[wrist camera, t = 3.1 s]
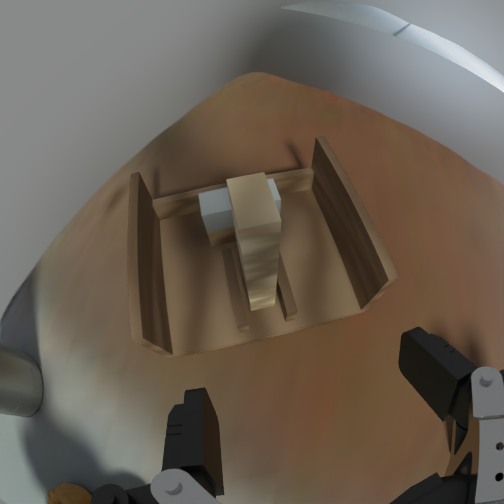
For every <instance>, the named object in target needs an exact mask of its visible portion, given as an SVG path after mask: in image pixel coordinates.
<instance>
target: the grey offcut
mask: <svg viewBox="0 0 504 504" xmlns="http://www.w3.org/2000/svg"><path fill="white" fill-rule="evenodd" d="M267 181H268V184H269V187H270V189H271V192H272V195H273V198H274V201H275V203H276V206H277V209H278V212H279V215H280V208H281V198H280V196H279V193H278V190H277V188H276V185H275V182H274V180H273V179H267ZM198 195H199V201H200V208H201V215H202V218H203V222H204V225H205V228H206V231H207V232H212V231H216V230H221V229H225V228H230V227H234V222H233V216H232V211H231V205H230V199H229V193H228V187H226V188H222V189H217V190H212V191H208V192H203V193H199V194H198Z"/></svg>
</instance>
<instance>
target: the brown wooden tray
mask: <svg viewBox="0 0 504 504" xmlns="http://www.w3.org/2000/svg"><path fill="white" fill-rule="evenodd" d="M266 178H267V179H273V180H274V182H275V185H276V188H277V190H278V193H279V196H280V198H281V208H280V218H281V235H280V248H279V261H278V273H277V285H276V297H275V305H274V306H270V307H265V308H261V309H257V310H252V311H251V309H250V304H249V300H248V296H247V292H246V287H245V283H244V279H243V274H242V268H241V263H240V257H239V251H238V246H237V241H235V242H230V243H226V244H221V245H217V246H211V243H210V240H209V237H208V234H207V231H206V228H205V225H204V222H203V218H202V215H201V208H200V201H199V195H198V194H199V193H203V192H208V191H212V190H217V189H222V188H226V187H227V183H223V184H218V185H213V186H209V187H204V188H200V189H195V190H191V191H187V192H183V193H178V194H174V195H170V196H166V197H162V198H158V199H154V200H152V198H151V196H150V194H149V192H148V190H147V187H146V185H145V183H144V181H143V179H142V177H141V175H140V173H139V172H137V173H133V174H131V179H130V192H129V210H128V296H129V314H130V327H131V339H132V340H133V341H135V342H137V343H139V344H141V345H143V346H145V347H146V348H148V349H150V350H152V351H154V352H156V353H159V354H161V355H163V356H165V357H167V358H172V357H178V356H184V355H190V354H195V353H201V352H206V351H212V350H217V349H222V348H227V347H232V346H237V345H241V344H246V343H250V342H255V341H259V340H263V339H268V338H272V337H276V336H280V335H284V334H288V333H292V332H296V331H300V330H303V329H307V328H311V327H314V326H318V325H321V324H325V323H328V322H332V321H335V320H339V319H342V318H345V317H349V316H352V315H355V314H358V313H361V312H364V311H366V310H367V309H368V308H369V307H370V306H371V305H372V304H373V303H374V302H375V301H376V300H377V299H378V298H379V297H380V296H381V295H382V294H383V293H384V292H385V291H386V290H387V289H388V288H389V287H390V286H391V285H392V284H393V282H394V281H395V280H396V279H397V278H398V275H397V272H396V270H395V268H394V266H393V263H392V261H391V259H390V257H389V254H388V252H387V250H386V248H385V246H384V244H383V242H382V239H381V237H380V235H379V233H378V231H377V229H376V227H375V225H374V223H373V221H372V219H371V217H370V215H369V213H368V211H367V209H366V208H365V206H364V204H363V202H362V200H361V198H360V196H359V194H358V193H357V191H356V189H355V187H354V185H353V184H352V182H351V180H350V178H349V177H348V175H347V173H346V171H345V170H344V168H343V166H342V165H341V163H340V161H339V160H338V158H337V156H336V155H335V153H334V151H333V150H332V148H331V147H330V145H329V143H328V142H327V140H326V139H325V137H324V136H320V137H316V140H315V147H314V154H313V160H312V167H311V168H305V169H298V170H292V171H286V172H280V173H274V174H269V175H266Z"/></svg>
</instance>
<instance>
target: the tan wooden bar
mask: <svg viewBox="0 0 504 504" xmlns="http://www.w3.org/2000/svg"><path fill="white" fill-rule="evenodd" d="M226 181H227V187H228V193H229V199H230V205H231V211H232V216H233V222H234V228H235V234H236V240H237V246H238V251H239V257H240V263H241V268H242V274H243V279H244V283H245V287H246V292H247V296H248V300H249V304H250V309H251V311H252V310H257V309H261V308H265V307H270V306H274V305H275V297H276V285H277V273H278V261H279V248H280V235H281V218H280V215H279V212H278V209H277V206H276V203H275V201H274V198H273V195H272V192H271V189H270V187H269V184H268V181H267V178H266V175H265V173H264V172H262V173H257V174H251V175H246V176H241V177H236V178H231V179H226Z"/></svg>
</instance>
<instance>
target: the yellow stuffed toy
mask: <svg viewBox="0 0 504 504" xmlns="http://www.w3.org/2000/svg"><path fill="white" fill-rule="evenodd" d="M48 497H49V498H48V503H47V504H91V498H92V495H91V494H90V493H89V492H88V491H87V490H85V489H84V488H82V487H80V486H77V485H74V484H68V483H67V484H66V483H65V484H60V485H59V486H58V487H55V488H54V489H51V490H50V491H49V494H48Z"/></svg>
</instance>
